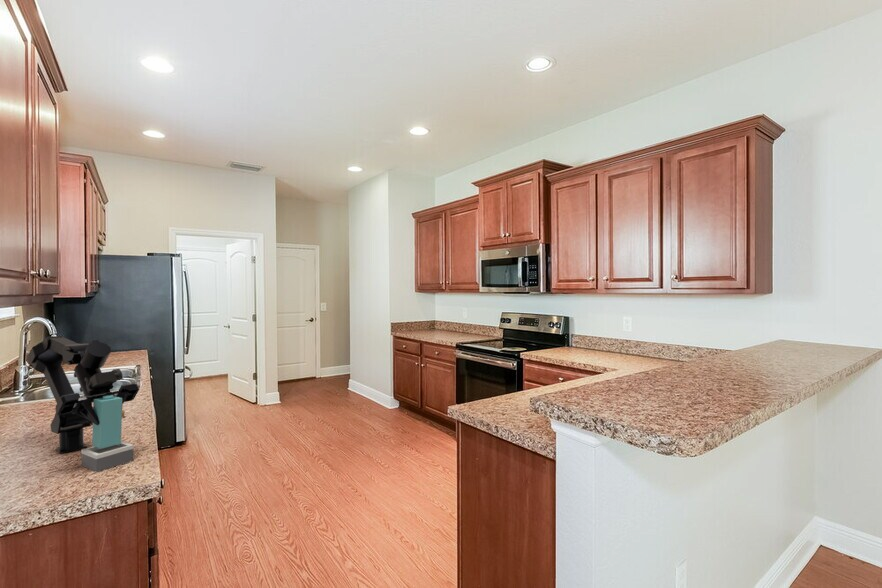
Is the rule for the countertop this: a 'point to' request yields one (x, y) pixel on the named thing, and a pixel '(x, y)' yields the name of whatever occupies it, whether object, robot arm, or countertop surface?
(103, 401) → the tall brick
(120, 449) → the tower base
